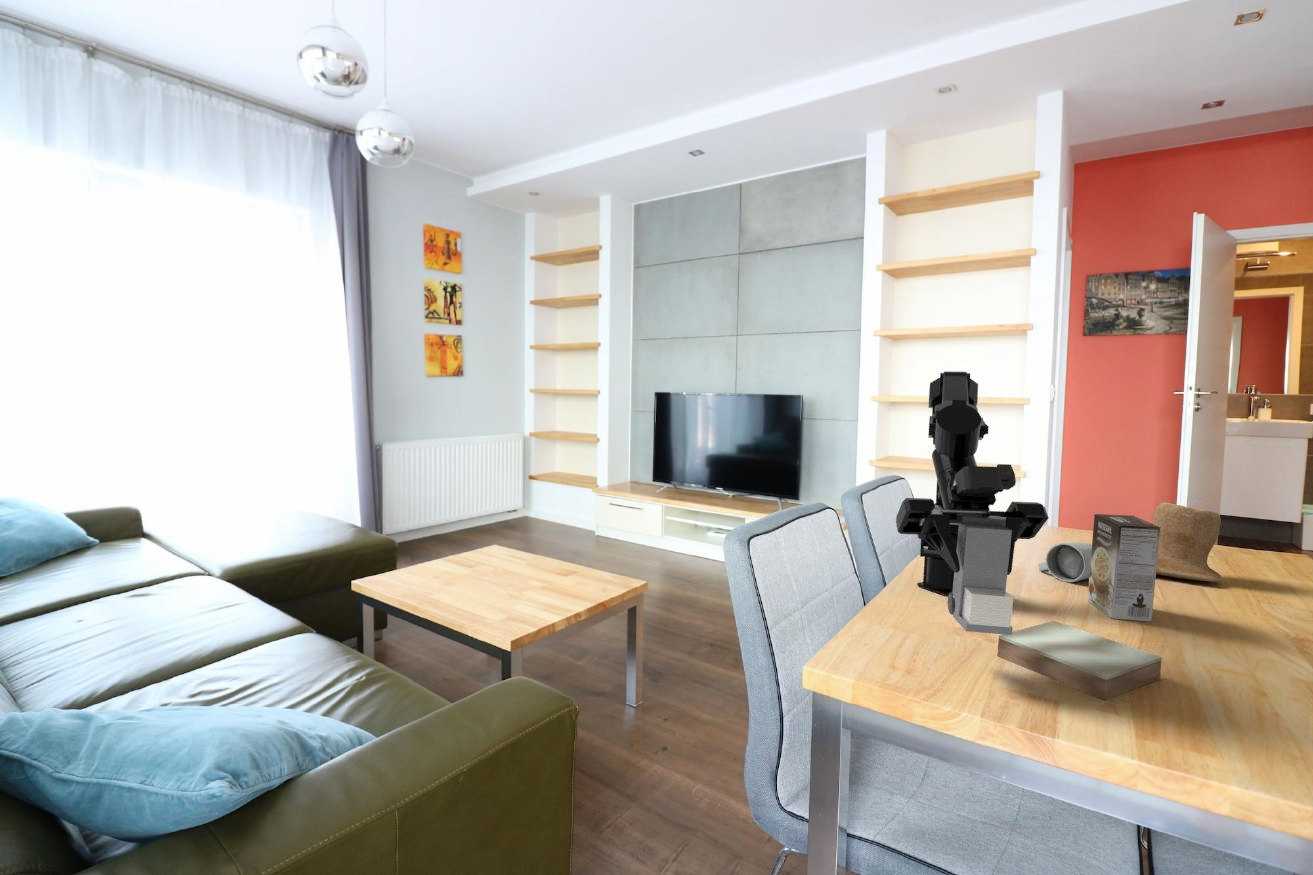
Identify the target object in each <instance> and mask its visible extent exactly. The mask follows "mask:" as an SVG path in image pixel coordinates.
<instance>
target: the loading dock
mask: <svg viewBox="0 0 1313 875" xmlns="http://www.w3.org/2000/svg"><path fill="white" fill-rule="evenodd" d="M997 643H998V644H997V657H1000V658H1001V659H1004V660H1006V661H1010V662H1011V663H1014V664H1016V665H1019V666H1021V667H1024V668H1026V669H1027V670H1031V671H1033V672H1036V673H1038V674H1041V675H1042V676H1045V677H1048V678H1049V679H1052V680H1055V681H1057V682H1060V683H1062V684H1065V685H1066V686H1069V687H1071V688H1074V689H1077V690H1078V691H1081V692H1083V693H1086V694H1088V695H1091V696H1093V697H1096V698H1098V699H1101V700H1103V701H1108V700H1109V699H1113V698H1115V697H1117V696H1119V695H1122V694H1125V693H1127V692H1130V691H1132V690H1133V691H1134V690H1135V689H1138V688H1140V687H1143V686H1145V685H1147V684H1150V683H1153V682H1156V681H1158V680H1160V679H1161V671H1162V670H1161V669H1162V668H1161V667H1162V660H1163V659H1162V656H1159V655H1156V654H1154V653H1151V652H1149V651H1145V650H1142V649H1139V648H1135V647H1133V646H1130V645H1128V644H1123V643H1121V642H1118V641H1115V640H1113V639H1110V638H1106V637H1103V636H1100V635H1097V634H1094V633H1092V632H1088V631H1086V630H1082V629H1080V628H1076V627H1073V626H1070V625H1068V624H1064V623H1061V622H1058V621H1056V620H1050V621H1047V622H1044V623H1041V624H1037V625H1033V626H1029V627H1028V626H1027V627H1024V628H1020V629H1018V630H1015V631H1013V630H1012V635H1004V634H998V642H997Z"/></svg>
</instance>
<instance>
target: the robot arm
mask: <svg viewBox="0 0 1313 875" xmlns="http://www.w3.org/2000/svg"><path fill="white" fill-rule="evenodd" d="M939 374H940V375H939V377H938V378H937V379H934V380H933V381H931V382H930V383H929V390H928V391H929V392H928V408H929V409H931V410H932V411H931V415H929V419H928V436H927V437H928V438H929V439H932V444H933V445H934V448H935V449H933V451H932V453H931V458H932V464H933V467H934V471H935V476H936V494H935V500H934V499H932V498H926V497H925V498H919V497H905V499H904V500H903V501H902V502H901V505H900V506H899V510H898V512H897V514H896V518H895V519H896V520H895V523H896V528H897V529H896V530H897V533H899V534H900V535H917V537H918V539H919V540H920V550H919V552H920V553H919V554H920V555H919V556H920V557H921V558H923V557H924V561H923V562H924V563H923V580H922V581H921V582H920V581H919V582H917V583H916V584H917V587H921V588H923V589H925V590H928V591H932V592H934V593H937V594H940V595H941V596H942V595H943V596H949V594H950V593H951V592H953V581H954V572H955V573H958V572H959V570H960V564H959V559H958V555H957V552H956V550H957V539H958V529H959V522H958V521H957V514H972V515H987V516H1000V517H1002V518H1004V519H1006V526H1005V527H1006V528H1008V529H1010V530H1012V534H1011V544H1010V554H1009V563H1008V573H1007V576H1010V574H1011V573H1012V570H1013V562H1014V554H1015V545H1016V542H1017V541H1018V540H1031V539H1033V538H1036V536H1037V534H1039V531H1041V529H1042V528H1043V526H1045V524H1046V522H1047V521H1048V520H1049V518H1050V517H1049V516H1048V512H1047V509H1046V507H1045V506H1044V505H1043V504H1042V503H1039V502H1032V501H1031V502H1030V501H1011V503H1010V504H1009V505H1008V508H1007V509H1006V511H1004V510H1003V511H1002V510H1001V511H1000V510H999V511H997V510H991V509H990V506H994V505H995V503H996V501H997V498H996V494H998V493H1003V491H1004V490H1005V491H1008V490H1010V489H1012V488H1014V487H1015V486H1016V482H1017V480H1016V474H1015V470H1014V469H1013V466H1012V464H1008V463H1007V464H1004V463H1003V464H1001V463H1000V464H999V463H998V464H997V465H996V466H978V465H977V462H976V458H975V454H976V452H977V451H978V447H979V446H978V445H979V441H982V440H983V439H984V438H985V435H988V434H989V429H990V428H989V425H987V424H986V421H984V418H983V417H982V415H981V414H980V413H979V409H978V400H979V399H978V397H979V383H978V382H977V381H975V380H973V379H972V378H971V373H970V372H967V371H943V372H940V373H939ZM925 547H926V548H925Z"/></svg>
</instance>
